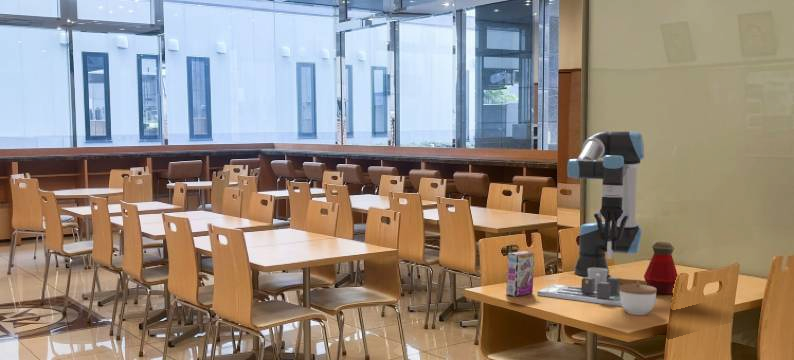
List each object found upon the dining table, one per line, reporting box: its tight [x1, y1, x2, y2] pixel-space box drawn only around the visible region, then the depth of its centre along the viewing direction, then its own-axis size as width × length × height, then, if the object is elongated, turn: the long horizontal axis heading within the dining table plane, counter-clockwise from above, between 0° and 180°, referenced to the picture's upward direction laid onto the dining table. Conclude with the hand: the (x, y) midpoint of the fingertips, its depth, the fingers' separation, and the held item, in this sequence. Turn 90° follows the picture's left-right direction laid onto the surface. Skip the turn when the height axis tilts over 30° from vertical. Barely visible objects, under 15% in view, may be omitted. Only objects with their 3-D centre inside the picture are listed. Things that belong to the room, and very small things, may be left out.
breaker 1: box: [581, 276, 595, 293], centre depth 301 cm, size 4×4×5 cm
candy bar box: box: [505, 250, 535, 298], centre depth 303 cm, size 11×5×16 cm, turn 134°
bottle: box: [643, 241, 679, 296], centre depth 313 cm, size 16×14×20 cm
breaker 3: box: [606, 276, 621, 293], centre depth 302 cm, size 4×4×5 cm
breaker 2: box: [597, 281, 611, 299], centre depth 292 cm, size 4×4×5 cm
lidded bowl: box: [619, 281, 657, 316], centre depth 275 cm, size 13×13×11 cm
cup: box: [587, 268, 608, 289], centre depth 317 cm, size 11×8×8 cm
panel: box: [536, 283, 622, 307], centre depth 301 cm, size 18×34×2 cm, turn 58°
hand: (609, 258), depth 296 cm, fingers closed
